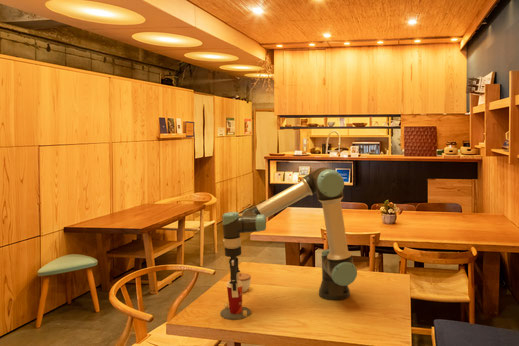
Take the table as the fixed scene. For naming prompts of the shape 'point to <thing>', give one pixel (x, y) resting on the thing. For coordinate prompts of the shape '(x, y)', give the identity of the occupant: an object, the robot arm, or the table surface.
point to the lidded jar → (244, 281)
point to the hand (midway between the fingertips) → (236, 291)
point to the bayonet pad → (227, 315)
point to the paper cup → (235, 298)
